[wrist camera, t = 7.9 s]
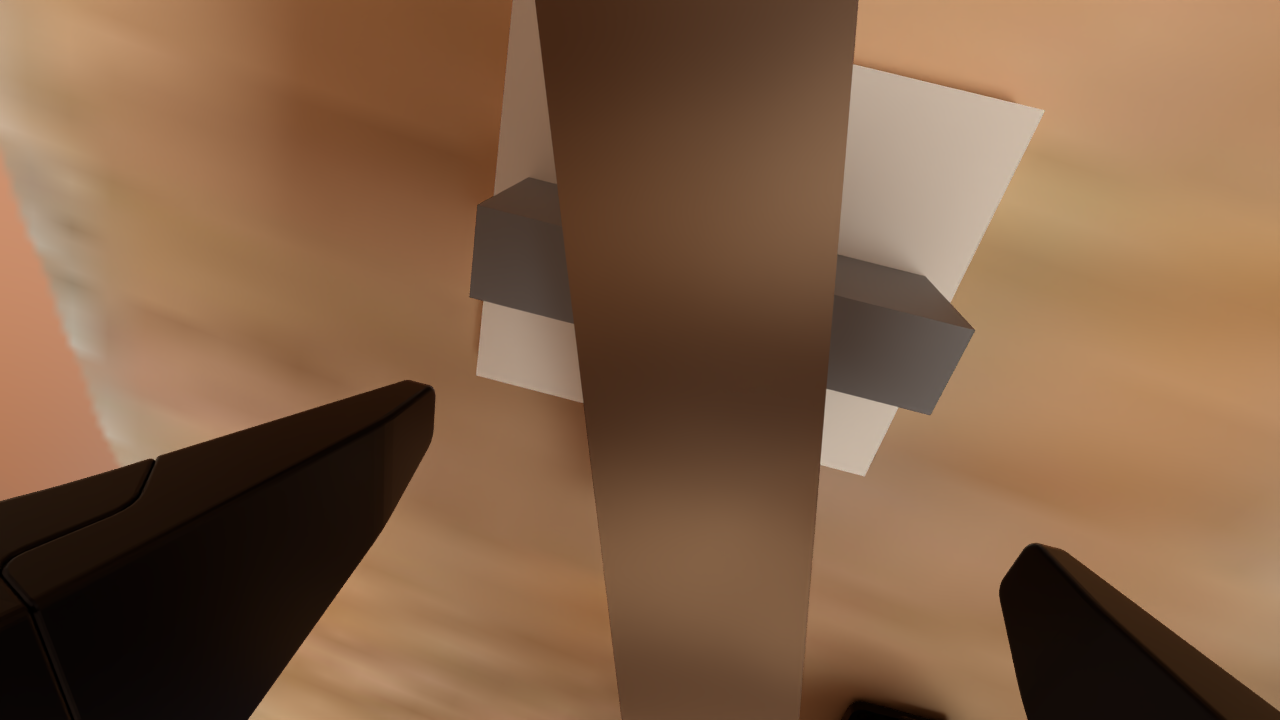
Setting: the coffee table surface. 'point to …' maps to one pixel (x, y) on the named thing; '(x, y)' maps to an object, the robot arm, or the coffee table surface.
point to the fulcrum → (866, 261)
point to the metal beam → (702, 325)
